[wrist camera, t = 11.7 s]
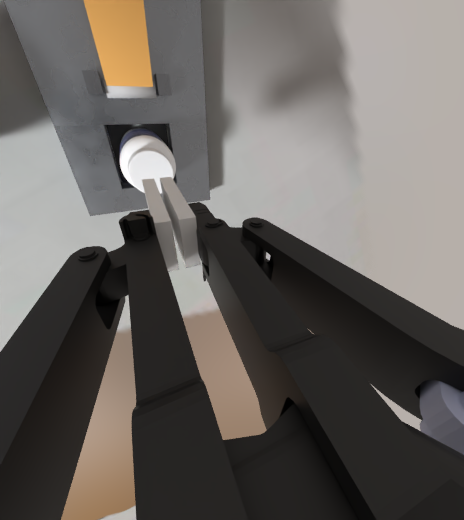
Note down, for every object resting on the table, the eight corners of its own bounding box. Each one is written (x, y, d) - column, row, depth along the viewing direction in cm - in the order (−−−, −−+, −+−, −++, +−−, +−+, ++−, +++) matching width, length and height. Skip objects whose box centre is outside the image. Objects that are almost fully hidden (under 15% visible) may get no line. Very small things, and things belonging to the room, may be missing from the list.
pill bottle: (109, 149, 26) (104, 171, 19) (141, 115, 25) (149, 125, 18) (146, 183, 29) (153, 212, 22) (175, 154, 29) (192, 176, 22)
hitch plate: (92, 206, 29) (88, 222, 25) (-22, -91, 15) (-65, -146, 12) (204, 192, 33) (214, 204, 30) (189, -45, 20) (203, -75, 17)
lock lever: (106, 92, 21) (108, 101, 21) (53, -99, 13) (54, -93, 12) (154, 93, 22) (157, 101, 22) (135, -79, 14) (139, -73, 13)
